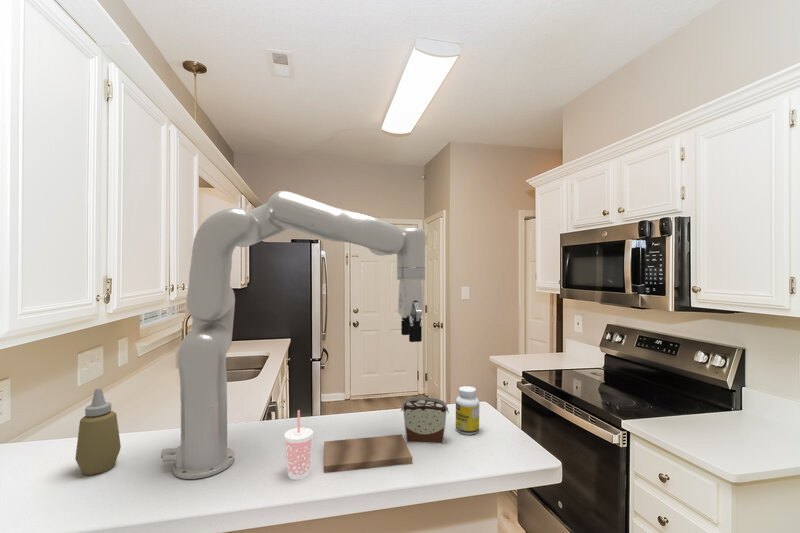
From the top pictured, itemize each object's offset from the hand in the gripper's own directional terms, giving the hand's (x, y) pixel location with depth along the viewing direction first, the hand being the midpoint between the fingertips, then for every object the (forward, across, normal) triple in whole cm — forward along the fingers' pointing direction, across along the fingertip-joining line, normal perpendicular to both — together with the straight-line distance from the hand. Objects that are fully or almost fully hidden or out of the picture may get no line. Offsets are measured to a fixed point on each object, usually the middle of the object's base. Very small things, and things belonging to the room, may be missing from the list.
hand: (411, 338), depth 103 cm
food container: (+26, +2, +3) cm, 27 cm away
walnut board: (+26, +8, -13) cm, 30 cm away
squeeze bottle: (+26, +2, -73) cm, 78 cm away
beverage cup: (+26, +13, -28) cm, 41 cm away
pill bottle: (+26, 0, +16) cm, 31 cm away
